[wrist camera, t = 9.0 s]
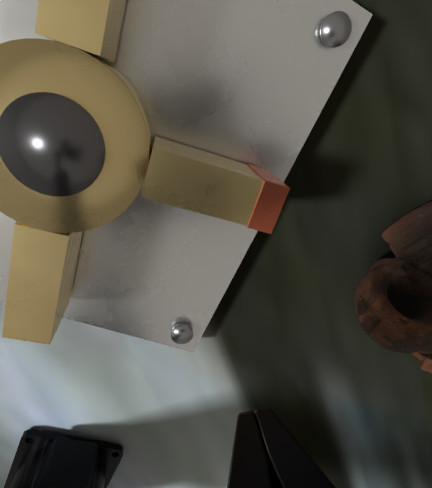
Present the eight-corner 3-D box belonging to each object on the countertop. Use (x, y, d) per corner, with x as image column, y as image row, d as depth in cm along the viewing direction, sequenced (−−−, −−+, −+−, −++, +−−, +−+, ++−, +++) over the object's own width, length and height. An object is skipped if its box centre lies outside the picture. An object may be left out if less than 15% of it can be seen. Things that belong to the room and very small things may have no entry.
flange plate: (198, 340, 21) (200, 359, 19) (-174, 236, 15) (-210, 251, 14) (365, 24, 15) (386, 18, 13) (-146, -315, 10) (-202, -387, 8)
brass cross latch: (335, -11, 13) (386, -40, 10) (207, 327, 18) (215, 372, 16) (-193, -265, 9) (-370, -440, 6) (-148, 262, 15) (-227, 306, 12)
